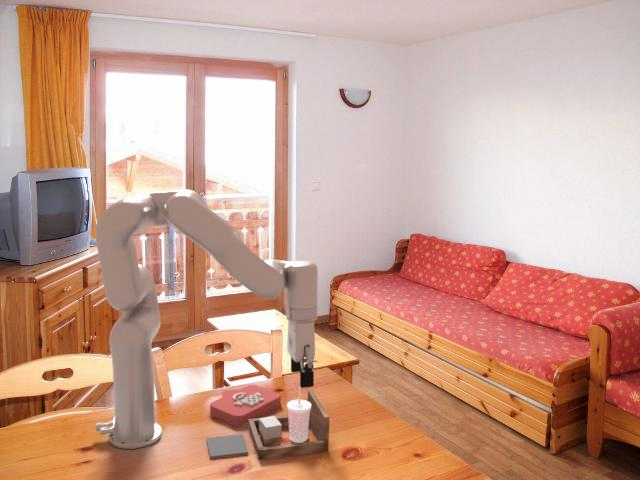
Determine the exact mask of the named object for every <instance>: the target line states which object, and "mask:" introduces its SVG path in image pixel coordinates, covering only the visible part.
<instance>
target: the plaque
mask: <svg viewBox="0 0 640 480" xmlns="http://www.w3.org/2000/svg"><path fill="white" fill-rule="evenodd" d="M281 398H282V397H281V394H280V393H278V392H275V391H273V390H271V389H268V388H264V387H262V386H259V385H256V384H250V385H247V386H244V387H242V388H239V389H229V390H228V389H226V390H223V391H222V392H221V397H220V398H218V399H216V400H213V401H211V402H210V403H209V404H210V405H209V407H210V408H209V415H210V416H211V417H213V418H216V419H218V420H221V421H223V422H224V423H227V424H230V425H233V426H236V427H240V426H241V427H242V426H245V425H248V419H256V418H261V417H262V416H264V415H267V414H268V413H269V412H272V411H273V410H275V409H278V408H279V407H280V406H281V402H282V401H281V400H282V399H281Z"/></svg>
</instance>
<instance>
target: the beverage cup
mask: <svg viewBox="0 0 640 480" xmlns="http://www.w3.org/2000/svg"><path fill="white" fill-rule="evenodd" d="M301 389H302V388H301V386H300V384H299V385H298V398H297V399H292V400H290V401H288V402H287V404H286V408H287V411H288V412H287V413H288V418H289V426H288V435H289V436H288V439H289V440H290V441H291V442H293V443H295V444H296V443H305V442H306V441H307V440H308V436H309V428H310V426H309V415H310V410H311V403H310V402H308V400H305V399H301Z"/></svg>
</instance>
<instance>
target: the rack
mask: <svg viewBox="0 0 640 480" xmlns="http://www.w3.org/2000/svg"><path fill="white" fill-rule="evenodd" d="M307 401H308V402H310V403H311V410H310V415H309V428H310V430H311V431H312V433H313V435H314V437H315V438H316V440H315V441H308V442H306V441H304V442H301V443H296V442H295V443H288V444H281V445H279V446H270V447H263V445H262V442H261V440H260V434H259V431H258V430H259V418H260V417H258V418H256V419H248V423H247V429H248V432H249V434H250V437H251V441H252V444H253V447H254V450H255V452H256V455H257V458H258V460H259V461H261V460H269V459H276V458H277V459H278V458H279V459H280V458H285V457H293V456H302V455H311V454H319V453H320V454H321V453H327V452H329V445H330V443H329V439H330V415H329V414H328V412H327V410H326V409H325V407H324V406H323V404H322V403H321V401H320V399H319V398H318V396H317V395H316V393H315V392H314V390H313V389H308V390H307ZM274 416H275V415H274ZM275 417H276V418H277V420H278V421H279V422H280V423H281V425H282V428H283V427H289V418H288V415H286V414H285V415H279V416H278V415H276V416H275Z"/></svg>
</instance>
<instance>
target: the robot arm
mask: <svg viewBox="0 0 640 480" xmlns="http://www.w3.org/2000/svg"><path fill="white" fill-rule="evenodd" d="M159 226H172V227H173V228H175V229H176V230H177V231H178V232H180V234H182V235H183V236H184V237H186V238H188V239H189V240H190V241H191V242H193V243H194V244H195V245H197V246H199V247H200V248H201V249H202V250H203V251H205V252H206V253H208V254H209V255H211V257H212V258H213V259H214V260H215V261H216V262H217V263H218V264H219V266H221V267H222V268H223V269H224V270H225V271H226V272H227V273H228V274H229V275H230V276H231V277H232V278H233V279H234V280H236V282H238V283H239V284H241V286H243V287H244V288H246V289H248V290H249V291H250V292H251V293H253V294H255V295H256V296H258V297H259V298H262V299H266V300H271V299H275V298H277V297H280V295H281V294H282V293H283V291H284V290H285V292H286V293H285V294H286V295H285V297H286V320H287V321H288V323H287V343H286V348H287V353H288V354H289V355H290V371H291V372H292V373H299V380H300V381H299V385H300V386H301V389H303V388H304V389H305V388H312V387H314V384H315V382H314V381H315V379H314V374H315V373H314V372H315V371H314V370H315V368H314V360H315V357H316V352H315V351H316V337H315V336H316V334H315V333H316V332H315V321H317V320H318V281H319V280H318V279H319V277H318V276H319V275H318V266H317V265H316V263H314V262H313V261H308V260H296V261H295V260H294V261H287V260H281V259H274V258H273V259H265V260H263V259H262V258H261V257H260V256H258V255H257V254H256V253H254V251H252V249H250V247H248V245H246V243H245V241H244V239H242V237H241V235H240V234H239V232H238V230H237V229H236V228H235V227H234V226H233V225H232V224H230V223H229V222H227V221H226V220H225V219H224V218H222V217H221V216H220V215H219V214H217V213H216V212H214V211H213V210H212V209H211V208H209V207H208V205H206V203H205V200H204V199H203V197H202V196H201V194H199V193H198V192H196V191H194V190H191V189H179V190H166V191H153V192H151V191H150V192H141V193H136V194H132V195H130V196H126V197H123V198H121V199H119V200H118V201H116V202H115V203H113V204H112V205H110V206H109V207H107V209H105V210H104V212H102V214H101V215H100V216H99V218H98V220H97V221H96V226H95V230H94V231H95V233H94V237H95V238H94V239H95V244H96V249H97V253H98V258H99V266H100V271H101V276H102V282H103V287H104V293H105V294H104V295H105V298H106V301H107V303H109V305H110V306H111V307H112V309H115V310H117V311H121V316H120V317H119V318H118V319H117V320H116V321H115V323H114V324H113V325H112V327H111V330H110V333H109V339H108V340H109V341H108V343H109V350H110V351H109V352H110V355H111V362H112V380H113V405H114V409H113V411H114V417H113V420H109V422H98V423H97V422H96V423H95V432H100V433H99V434H100V435H102V436H103V435H108V442H109V443H110V444H111V445H112V446H114V447H116V448H119V449H126V450H127V449H128V450H132V449H140V448H145V447H148V446H150V445H152V444H154V443H156V442H157V441H158V440H160V439H161V437H162V427H161V426H160V425H159V424H158V423H156V412H155V411H156V410H155V409H156V408H155V405H156V404H155V403H156V402H155V368H154V357H153V352H152V342H153V340H154V338H155V337H156V336H157V334H158V333H159V330H160V327H161V321H162V318H161V313H160V312H161V311H160V307H159V301H158V295H157V289H156V283H155V280H154V276H153V274H152V273H151V271H150V270H149V269H148V268H147V267H146V266H145V265H142V264H141V263H139V262H138V261H139V260H138V254H137V253H138V252H137V248H136V247H135V243H134V236H135V235H136V234H138V233H140V232H142V231H144V230H145V229H147V228H151V227H159Z"/></svg>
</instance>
